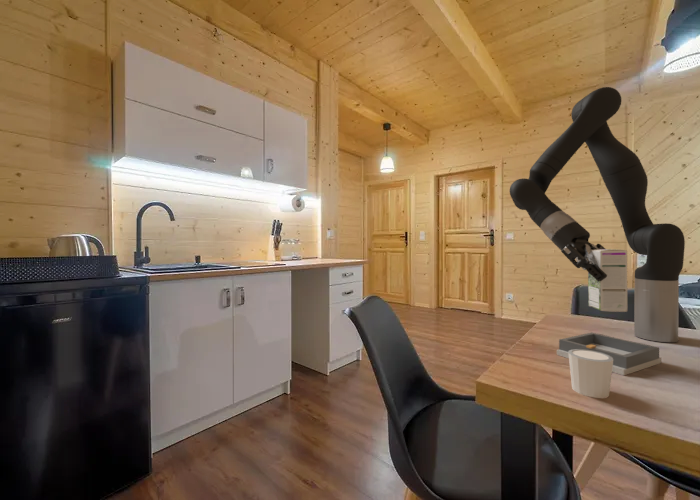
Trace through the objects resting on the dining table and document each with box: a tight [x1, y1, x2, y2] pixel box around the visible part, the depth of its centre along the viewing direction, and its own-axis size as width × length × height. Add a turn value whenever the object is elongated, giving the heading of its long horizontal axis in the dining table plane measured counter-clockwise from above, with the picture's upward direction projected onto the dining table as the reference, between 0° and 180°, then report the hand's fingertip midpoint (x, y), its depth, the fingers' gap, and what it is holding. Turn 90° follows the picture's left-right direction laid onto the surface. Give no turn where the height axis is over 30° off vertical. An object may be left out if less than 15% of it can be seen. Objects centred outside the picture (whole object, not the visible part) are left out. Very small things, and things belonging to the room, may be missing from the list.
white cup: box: [568, 349, 613, 399], centre depth 60 cm, size 7×7×7 cm
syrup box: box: [587, 248, 628, 313], centre depth 76 cm, size 6×6×14 cm
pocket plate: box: [556, 332, 662, 376], centre depth 76 cm, size 16×14×4 cm
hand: (613, 278), depth 75 cm, fingers closed on syrup box, 8 cm apart
